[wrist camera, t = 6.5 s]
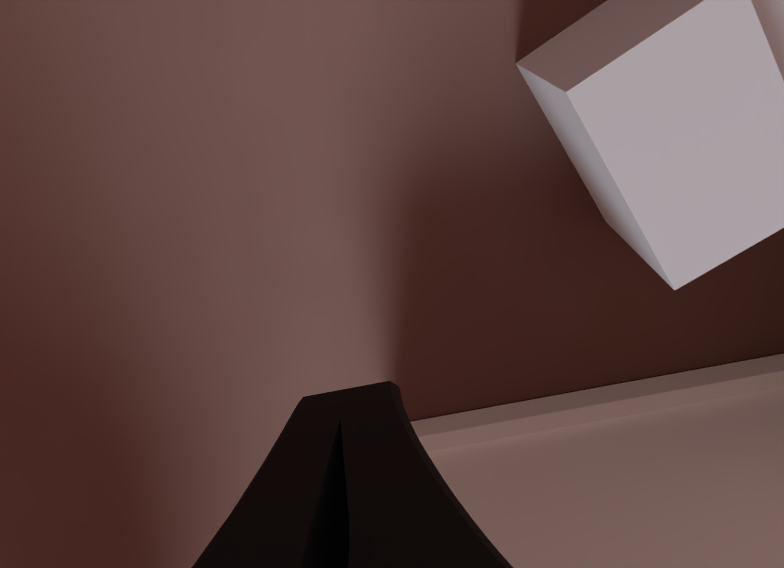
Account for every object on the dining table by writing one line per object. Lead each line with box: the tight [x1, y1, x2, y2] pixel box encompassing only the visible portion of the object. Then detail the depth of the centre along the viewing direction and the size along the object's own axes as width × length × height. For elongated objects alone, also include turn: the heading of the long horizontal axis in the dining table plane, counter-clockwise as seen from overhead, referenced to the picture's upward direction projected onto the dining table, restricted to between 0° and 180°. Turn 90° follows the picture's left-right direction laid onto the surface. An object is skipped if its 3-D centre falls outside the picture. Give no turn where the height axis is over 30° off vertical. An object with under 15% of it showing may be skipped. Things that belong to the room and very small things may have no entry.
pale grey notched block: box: [516, 0, 784, 290], centre depth 15 cm, size 5×7×4 cm
